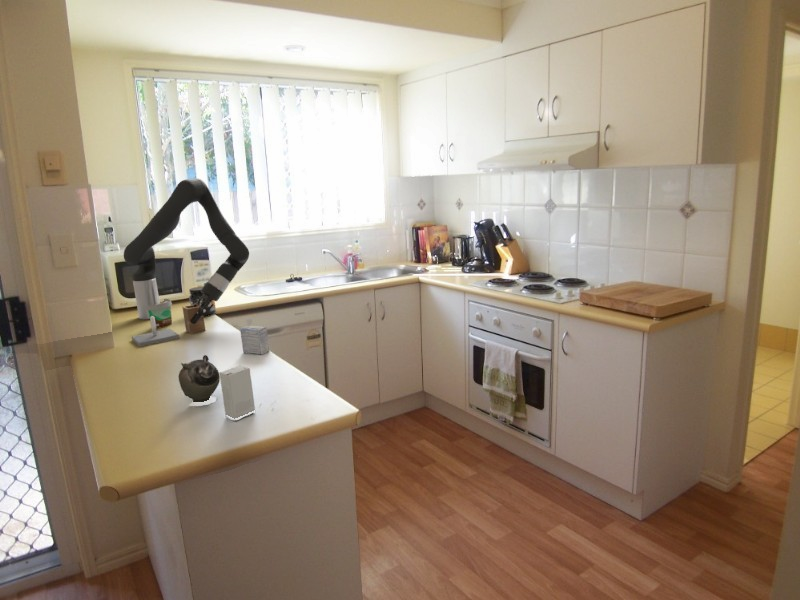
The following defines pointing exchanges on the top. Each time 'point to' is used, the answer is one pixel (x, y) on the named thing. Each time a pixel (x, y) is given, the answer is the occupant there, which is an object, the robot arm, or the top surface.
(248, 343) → the medicine box
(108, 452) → the top surface
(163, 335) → the post base
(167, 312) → the food container
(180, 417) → the top surface
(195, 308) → the walnut sleeve
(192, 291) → the supplement container
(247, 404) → the skincare box
